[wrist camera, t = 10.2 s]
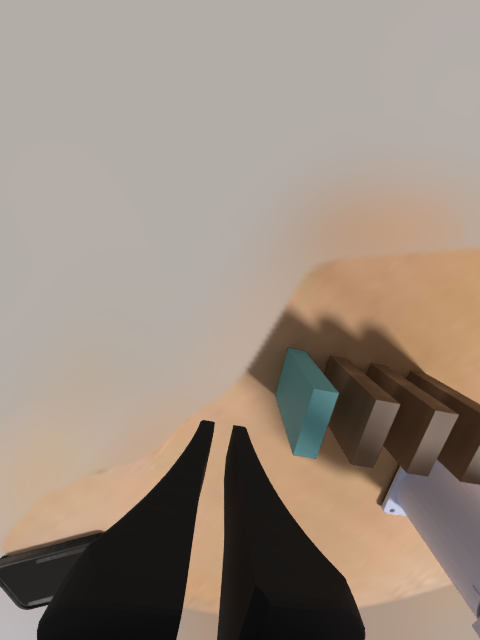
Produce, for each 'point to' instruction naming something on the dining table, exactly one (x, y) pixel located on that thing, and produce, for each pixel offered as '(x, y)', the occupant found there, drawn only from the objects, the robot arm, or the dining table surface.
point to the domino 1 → (359, 412)
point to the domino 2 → (414, 422)
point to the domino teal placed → (304, 403)
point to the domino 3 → (456, 429)
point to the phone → (39, 572)
